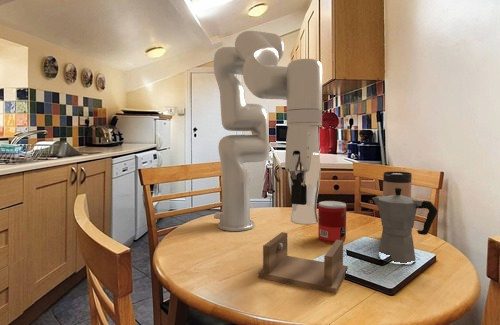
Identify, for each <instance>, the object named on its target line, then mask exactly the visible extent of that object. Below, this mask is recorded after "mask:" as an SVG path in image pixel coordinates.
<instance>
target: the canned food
mask: <svg viewBox="0 0 500 325" xmlns="http://www.w3.org/2000/svg"><path fill="white" fill-rule="evenodd" d="M317 209H318V210H317V215H318V222H317V224H318V228H317V230H318V232H317V233H318V240H320V241H322V242H324V243H327V244H334V242H335V241H336V240H343V243H344V242H345V241H346V239H347V204H346V202H344V201H343V202H342V201H335V200H324V201H319V202H318V208H317Z"/></svg>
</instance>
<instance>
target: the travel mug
mask: <svg viewBox="0 0 500 325" xmlns="http://www.w3.org/2000/svg"><path fill="white" fill-rule="evenodd" d="M412 175H413V174H412V173H411V172H409V171H383V175H382V176H383V184H382V185H383V186H382V196H390V195H396V193H395V188H401V189H402V190H401V194H400V195H402V196H406V197H410V198H412V180H413V179H412Z"/></svg>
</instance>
